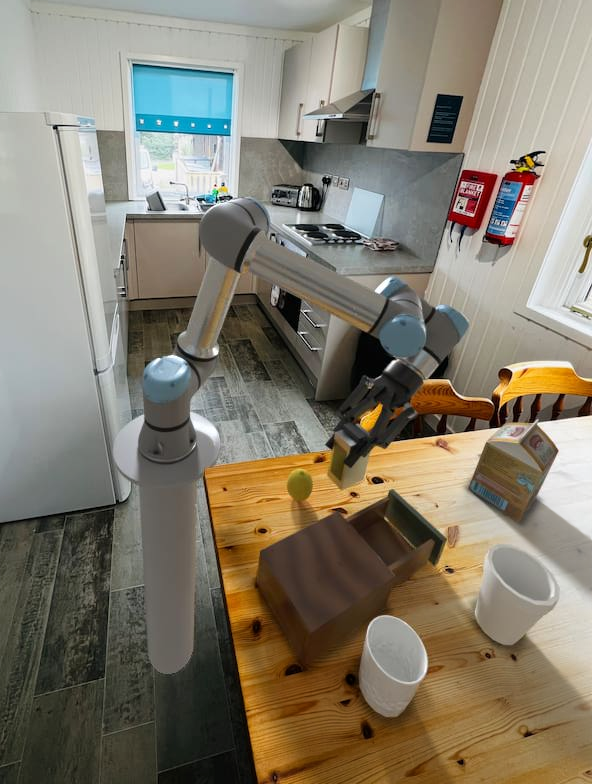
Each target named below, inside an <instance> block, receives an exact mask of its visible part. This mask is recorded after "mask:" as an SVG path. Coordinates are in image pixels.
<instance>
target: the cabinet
mask: <svg viewBox="0 0 592 784" xmlns="http://www.w3.org/2000/svg"><path fill="white" fill-rule="evenodd" d="M395 577H396V576H395V575H394V574H393V572H392V571H391V570H390V569H389V568H388V567H387V566H386V564H385V563H384V562H383V561H382V560H381V559H380V558H379V557H378V555H377V554H376V553H375V552H374V551H373V550H372V549H371V547H370V546H369V545H368V544H367V543H366V542H365V541H364V540H363V538H362V537H361V536H360V535H359V534H358V533H357V532H356V530H355V529H354V528H353V527H352V526H351V525H350V524H349V523H348V521H347V520H346V519H345V517H344V515H343V514H342V513H341V512H340V511H339V510H336V511H335V512H332V513H331V514H329V515H327V516H325V517H322V518H321V519H318V520H317V521H315V522H313V523H311V524H309V525H307V526H305V527H303V528H301V529H299V530H297V531H295V532H294V533H291V534H290V535H288V536H285V537H283V538H282V539H280V540H278V541H276V542H274V543H272V544H270V545H268V546H266V547H264V548H262V549H260V550H259V557H258V565H257V573H256V581H255V582H256V585H257V587H258V588H259V590H260V592H261V594H262V596H263V597H264V600H265V601H266V603H267V604H268V606H269V607H270V610H271V612H272V613H273V615H274V617H275V619H276V620H277V622H278V624H279V626H280V628H281V629H282V631H283V633H284V635H285V636H286V638H287V640H288V642H289V643H290V645H291V647H292V649H293V651H294V652H295V654H296V655H297V658H298V659H299V661H300V664H302V666H303V667H306V666H307V665H308V664H311V662H312V661H315V659H317V658H318V657H319V656H321V655H322V654H323V653H325V652H326V651H328V650H330V648H333V647H334V646H335V645H337V644H338V643H339V642H341V641H342V640H343V639H345V638H346V637H348V636H349V635H350V634H352V633H353V632H354V631H356V630H357V629H358V628H360V627H361V626H363V625H365V624H366V623H367V622H369V621H370V620H371V619H373V618H374V617H376V616H377V615H379V614H380V613H381V612H383V611H384V610H385V609H386V606H387V605H388V601H389V599H390V595H391V593H392V590H393V589H392V586H393V583H394V580H395Z"/></svg>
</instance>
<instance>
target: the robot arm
mask: <svg viewBox="0 0 592 784" xmlns="http://www.w3.org/2000/svg"><path fill="white" fill-rule="evenodd" d="M270 229H271V216H270V214H269V211H268V210H267V208H266V206H265V205H264V204H263V203H262V202H261V201H259V200H258V199H256V198H253V197H250V196H236V197H233V198H232V199H230V200H227V201H225V202H220V203H217V204H214V205H213V206H211V207H210V208H208V209H207V210H206V211H205V213H204V215H203V216H202V218H201V220H200V223H199V227H198V234H199V240H200V243H201V245H202V247H203V249H204V250H205V251H206V252H207V254H208V255H209V256H210V257H209V260H208V262H207V266H206V269H205V272H204V275H203V278H202V282H201V284H200V288H199V291H198V294H197V296H196V299H195V302H194V307H193V309H192V312H191V316H190V318H189V322H188V325H187V328H186V330H185V331H183V332H181V333H180V334H179V335H178V338H177V341H176V344H175V346H174V350H173V352H172V354H171V355H164V356H162V358H160V357H158V358H155V359H153V360H152V361H150V362H149V363H148V364H147V365H146V367H145V368H144V370H143V373H142V380H141V381H142V382H141V389H142V402H143V415H144V423H143V425H142V428H141V431H140V434H139V438H138V448H139V452H140V453H141V455H142V456H143V457H144V458H145V459H147V460H148V461H150V462H153V463H156V464H174V463H177V462H180V461H182V460H184V459H186V458H187V457H189V456H190V455H191V454H192V453H193V451H194V450H195V448H196V444H197V435H196V431H195V429H194V426H193V423H192V421H191V418H190V412H191V401H192V399H193V397H194V396H195V395H196V393H197V392H198V391H199V390H200V388H202V386H203V384H205V382H206V381H207V380H208V379H209V377H211V376H212V374H213V373H214V372H215V370H216V368H217V366H218V363H219V356H220V355H219V352H220V345H219V343H218V340H219V337H220V334H221V331H222V328H223V325H224V323H225V320H226V317H227V315H228V312H229V310H230V307H231V305H232V302H233V299H234V296H235V293H236V290H237V288H238V285H239V282H240V280H241V278H242V275H246V274H252V275H254V276H255V277H258V279H262V280H263V281H265V282H267V283H269V284H271V285H273V286H275V287H277V288H278V289H281V290H283V291H285V292H287V293H289V294H290V295H293V296H294V297H297V298H299V299H300V300H302V301H304V302H306V303H308V304H310V305H312V306H314V307H316V308H318V309H320V310H322V311H324V312H326V313H328V314H330V315H332V316H334V317H336V318H338V319H339V320H341V321H343V322H345V323H347V324H349V325H351V326H353V327H355V328H357V329H359V330H361V331H363V332H364V333H367V334H368V335H370V336H372V337H374V338H376V339H378V340H379V342H380V344H381V346H382V348H383V349H384V350H385V351H386V352H387V354H389V355H390V356H393V357H394V358H395V359H393V360H391V361H390V363H389V364H388V365H387V366H386V367H385V368H384V370H382V373H381V375H380V376H378V377H376V378H371V377H368V376H367V375H362V376H361V379H360V381H359V384H358V385H357V386H356V387H355V388H354V390H353V391H352V392H351V394H349V396H348V397H347V398H346V400H345V401H344V402H343V403H342V404H341V405H340V407H339V408H338V412H339V413H340V415H341V419H340V420H339V421H338V423H337V424H336V425H335V427H334V428H333V431H334V433H333V434H332V435H331V436H330V437H329V439H328V440H327V441H326V443H325V444H324V446H326V447H327V448H328V449H329V450H331V451H332V447H333V442H334V437H335V432H338V431H340V430H343V425H344V424H347V423H349V422H353V423H354V422H355V421H357V420H358V419H359V418H361V417H362V416H363V415H364V414H366V413H367V412H368V411H370V410H371V409H372V408H374V407H376V406H378V405H382V406H381V411H380V412H379V415H378V417H377V419H376V420H375V422H374V425H373V427H372V428H371V431H370V432H369V433H370V435H369V437H366V438H367V439H365V438H364V437H363V438H362V439H361V440H360V442H359V443H358V444H357V445H356V446H355V448H354V449H353V450H352V451H351V452H350V454H349V455H348V456H347V457H346V458H345V460H344V461H343V463H344V464H345V465H347V466H348V467H349V468H352V466H353V465H354V464H355V463H356V462H357V460H358V459H359V458H360V457H361V456H362V457H363V458H364V457H366V456H367V455H368V454H369V453H370V454H371V452H372V450H373V449H374V448H375V447H378V448H381V449H383V450H386V449H387V448H389V446H390V445H391V443H393V441H394V440H395V439H396V438H397V437H398V435H399V434H400V433H401V432H402V430H403V429H404V428H405V427H406V426H407V424H408V423H409V422H410V421H413V420H414V419H415V418H417V417H418V415H419V414H418V413H419V412H417V410H415V408H414V407H413V406H412V405H411V400H412V398H413V397H414V396H415V395H416V394H417V393H418V392H419V390H420V389H421V388H422V387H423V386H424V384H425V381H427V380H428V379H429V378H431V376H432V375H433V373H434V372H435V371H436V370H437V368H438V367H439V366H440V365H441V363H443V361H444V360H445V358H446V357H447V356H448V355H449V354H450V353H451V352H452V350H453V349H455V347H456V346H457V345H458V344H459V343H461V340H462V339H463V337H464V336H465V335H466V332H467V331H468V330H469V327H470V322H469V320H468V318H467V317H466V315H464V314H463V313H462V312H461V311H459V310H457V309H456V308H454V307H452V306H450V305H447V304H439V305H437V306H436V307H435V306H433V305H432V304H430V303H429V302H428V301H427V300H426V299H424V298H423V297H422V295H420V294H419V293H418V292H416V291H415V290H414V289H413V288H412V287H411V286H410V285H409V283H406V282H404V281H403V280H401V279H400V278H399V277H397V276H394V275H392V276H389V277H388V278H386V279H385V280H383V281H382V282H381V283H380V284H379V285H378V286H377V287H376V289H374V290H373V289H371V288H370V287H367V286H365V285H363V284H362V283H359V282H357V281H355V280H353V279H351V278H349V277H347V276H346V275H343V274H341V273H339V272H337V271H335V270H333V269H330V268H329V267H327V266H325V265H323V264H320V263H318V262H317V261H314V260H312V259H310V258H308V257H306V256H304V255H302V254H301V253H298V252H296V251H294V250H293V249H290V248H288V247H286V246H284V245H282V244H280V243H278V242H276V241H274V240H272V239H270V238H268V237H267V236H268V235H269V232H270ZM369 389H370V390H371V389H372V390H371V392H369ZM368 392H369V393H368ZM366 394H367V395H366ZM365 396H366V397H365ZM364 397H365V398H364ZM363 398H364V399H363ZM401 408H402V409H401ZM397 409H401V412H400V413H398V415H397V416H396V417H395V419H393V421H391V423H390V424H389V422H390V420H391V418H392V417H394V415H395V413H396V410H397ZM388 424H389V426H388Z"/></svg>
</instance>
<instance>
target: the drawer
mask: <svg viewBox="0 0 592 784" xmlns="http://www.w3.org/2000/svg"><path fill="white" fill-rule="evenodd" d="M344 518H345V517H344ZM385 518H386V519H385ZM345 519H346V520H347V521H348V523H349V524H350V525H351V526H352V527H353V528H354V529H355V530H356V532H357V533H358V534H359V535H360V536H361V537H362V538H363V540H364V541H365V542H366V543H367V544H368V545H369V546H370V547H371V549H372V550H373V551H374V552H375V553H376V554H377V555H378V557H379V558H380V559H381V560H382V561H383V562H384V563H385V564H386V566H387V567H388V568H389V569H390V570H391V571H392V572H393V574H394V575H395V576H396V577H395V580H394V583H393V586H392V589H391V590H393V589H395V587H397V586H399V585H400V584H401V583H403V582H405V581H406V580H408V578H410V577H412V576H413V575H414V574H416V573H417V572H419V571H421V570H422V569H423V568H425V567H426V566H427V564H428V563H430V564H431V565H432V566H433V567H435V566H437V565H438V564H439V562H440V559H441V557H442V554H443V552H444V549H445V547H446V544H447V541H448V538H447V537H446V536H445V535H444V534H443V533H442V532H440V530H438V529H437V528H436V527H435V526H434V525H433V524H432V523H430V522H429V521H428V519H427V518H425V516H424V515H422V514H421V513H420V512H419V511H418V510H417V509H416V508H415V507H413V506H412V504H410V503H409V502H408V501H407V500H406V499H405V498H404V497H403V496H401V495H400V494H399V493H398V492H397V490H395V489H394V488H392V489H390V490H388V492H387V496H385V497H383V498H381V499H379V500H377V501H376V502H374V503H371V504H370V505H368V506H366V507H364V508H362V509H360V510H358V511H357V512H355V513H353V514H351V515H349V516H347V517H346V518H345ZM389 522H390V523H389ZM391 524H392V525H391ZM397 530H398V531H397ZM403 536H404V537H403Z"/></svg>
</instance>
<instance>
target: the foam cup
mask: <svg viewBox="0 0 592 784" xmlns="http://www.w3.org/2000/svg"><path fill="white" fill-rule="evenodd" d="M482 570H483V572H482V577H481V582H480V586H479V589H478V590H479V591H478V596H477V600H476V605H475V610H474V615H475V620H476V623H477V624H478V625H479V627H480V629H481V630H482V632H483V633H485V634H486V635H487V636H488V637H489V638H491V640H492V641H494V642H496V643H499V644H500V645H502V646H513V645H514V644H516V643H517V642H518V641H520V639H522V638H523V637H524V636H525V635H526V634H527V633H528V632H529V631H530V630H532V628H533V627H534V626H535V625H536V624H537V623H538V622H539V621H540V620H541V619H542V618H543V617H544V616H546V615H548V614H549V613H550V612H552V611H553V610H554V609H555V607H556V605H557V604H558V603H559V600H560V590H561V589H560V586H559V584H558V582H557V580H556V578H555V576H554V573H552V572H551V570H550V569H549V568H548V567H547V566H546V565H545V564H544V563H543V562H542V561H541V560H540V559H539V558H537V557H536V556H534V555H532V554H531V553H529V552H528V551H527V550H525V549H523V548H520V547H518V546H515V545H513V544H506V543H497V544H495V545H493V546H491V547H489V548H488V551H487V553H486V555H485V557H484V561H483V565H482Z"/></svg>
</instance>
